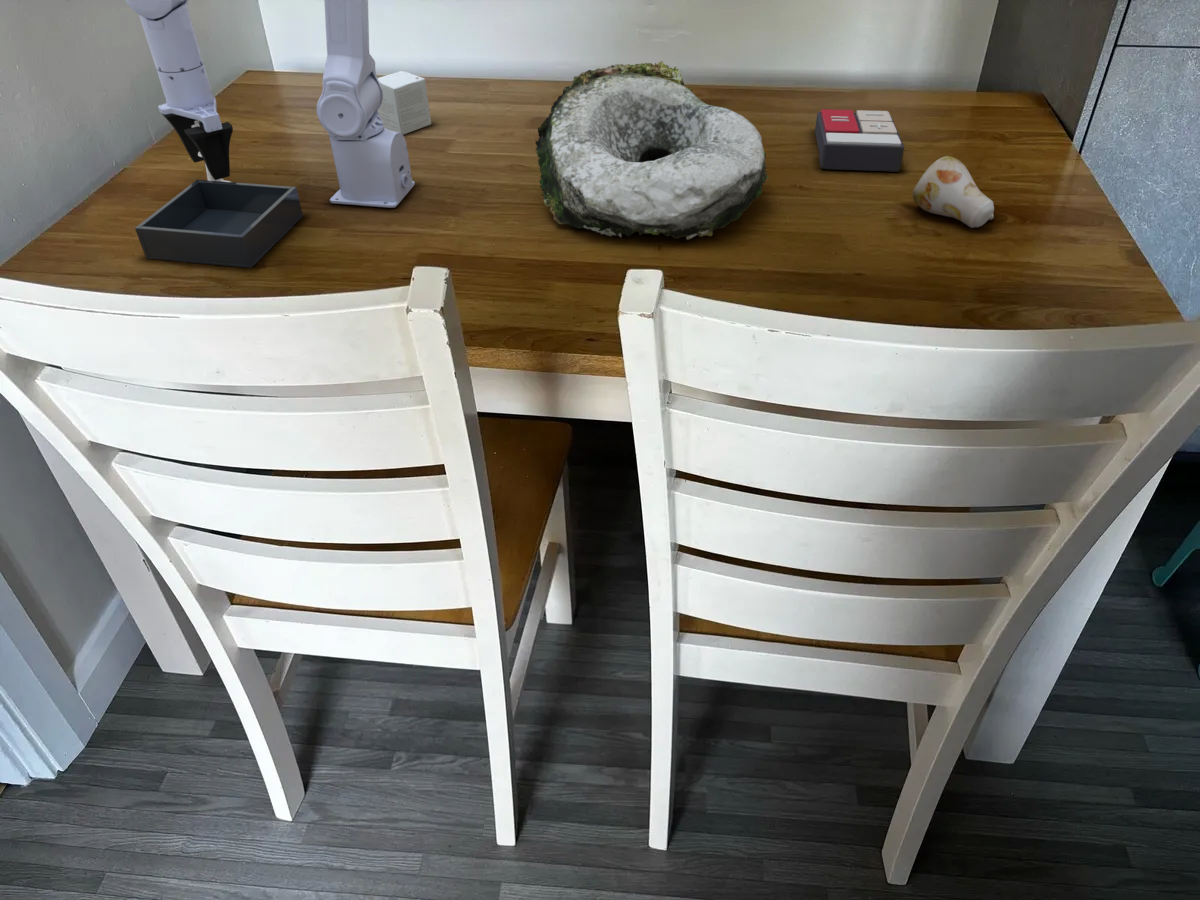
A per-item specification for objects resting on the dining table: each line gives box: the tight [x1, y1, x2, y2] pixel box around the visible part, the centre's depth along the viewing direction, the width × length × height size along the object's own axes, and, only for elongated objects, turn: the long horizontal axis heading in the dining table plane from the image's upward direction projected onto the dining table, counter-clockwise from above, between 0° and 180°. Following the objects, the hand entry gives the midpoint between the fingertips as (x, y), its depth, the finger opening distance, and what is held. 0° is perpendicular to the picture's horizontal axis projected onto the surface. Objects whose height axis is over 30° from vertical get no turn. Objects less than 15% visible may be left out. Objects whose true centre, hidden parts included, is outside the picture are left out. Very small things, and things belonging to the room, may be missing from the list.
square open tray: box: [134, 179, 304, 269], centre depth 114 cm, size 14×14×4 cm
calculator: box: [814, 108, 905, 173], centre depth 133 cm, size 11×4×15 cm
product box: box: [377, 70, 432, 136], centre depth 142 cm, size 6×6×7 cm
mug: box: [912, 155, 995, 229], centre depth 115 cm, size 8×10×10 cm
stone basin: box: [534, 60, 770, 241], centre depth 118 cm, size 29×30×15 cm
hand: (211, 168), depth 124 cm, fingers open, 7 cm apart
